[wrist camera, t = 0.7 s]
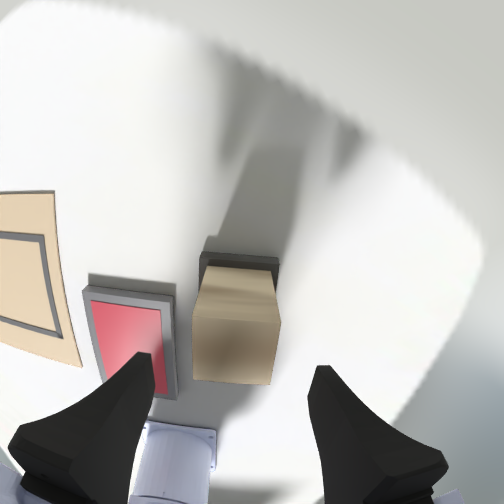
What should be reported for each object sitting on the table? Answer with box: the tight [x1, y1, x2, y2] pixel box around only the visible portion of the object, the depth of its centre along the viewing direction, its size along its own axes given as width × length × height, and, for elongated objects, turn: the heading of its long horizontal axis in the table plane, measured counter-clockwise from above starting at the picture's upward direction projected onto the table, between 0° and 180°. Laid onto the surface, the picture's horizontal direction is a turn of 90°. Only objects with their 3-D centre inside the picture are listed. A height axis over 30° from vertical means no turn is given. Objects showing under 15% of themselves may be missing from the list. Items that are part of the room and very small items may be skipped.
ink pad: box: [82, 285, 178, 400], centre depth 21 cm, size 10×7×1 cm
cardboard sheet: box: [0, 194, 83, 368], centre depth 20 cm, size 16×12×1 cm
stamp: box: [192, 252, 281, 385], centre depth 17 cm, size 5×5×7 cm
